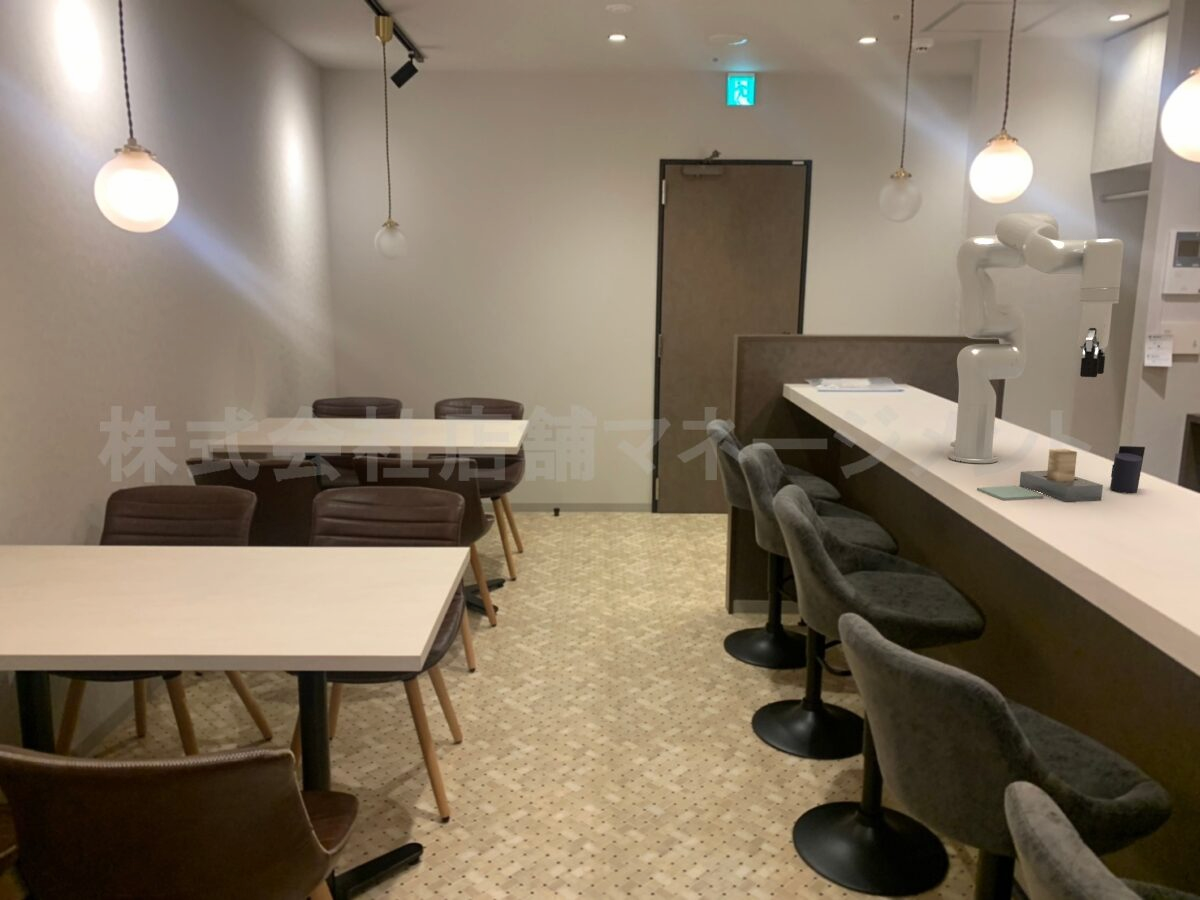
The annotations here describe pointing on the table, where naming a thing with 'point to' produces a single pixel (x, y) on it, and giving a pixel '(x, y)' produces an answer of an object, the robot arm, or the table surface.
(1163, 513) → the table surface
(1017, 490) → the pad
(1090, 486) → the plate with square hole
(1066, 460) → the peg
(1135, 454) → the speaker
